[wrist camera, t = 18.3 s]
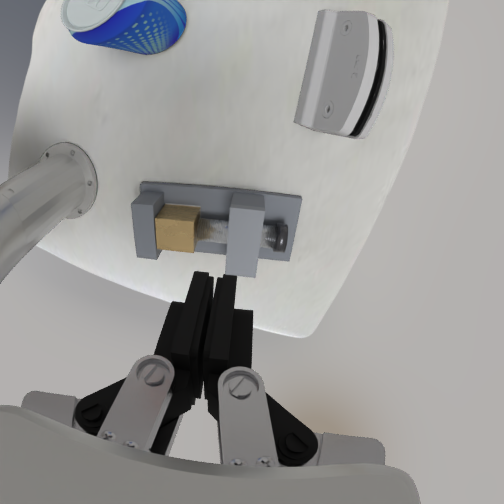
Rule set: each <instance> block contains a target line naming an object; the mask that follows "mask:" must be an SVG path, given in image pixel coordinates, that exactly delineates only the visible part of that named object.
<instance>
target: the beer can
mask: <svg viewBox="0 0 504 504" xmlns="http://www.w3.org/2000/svg"><path fill="white" fill-rule="evenodd" d="M61 19H62V22H63V24H64V26H65V27H66V28H67V29H69V32H70V33H71V35H72V36H73V37H74V38H75V39H76V40H78V41H80V42H82V43H86V44H92V45H98V46H104V47H110V48H115V49H120V50H125V51H130V52H134V53H139V54H145V55H148V54H155V53H159V52H162V51H164V50H166V49H167V48H169V47H170V46H172V45H173V44H174V43H175V42H176V41H177V40H178V39H179V38H180V36H181V35H182V33H183V31H184V29H185V26H186V13H185V10H184V8H183V7H182V5H181V4H180V3H179V2H178V1H177V0H64V1H63V4H62V8H61Z"/></svg>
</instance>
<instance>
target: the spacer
mask: <svg viewBox="0 0 504 504" xmlns="http://www.w3.org/2000/svg"><path fill="white" fill-rule="evenodd" d="M200 211H201V207H195V206H184V205H171V204H165V205H164V207H163V208H162V209H161V211H160V212H159V213H158V215H157V216H156V218H155V227H156V241H157V249H162V250H171V251H180V252H189V253H194V251H195V248H196V245H197V242H198V240H197V229H198V223H199V219H200Z"/></svg>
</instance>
